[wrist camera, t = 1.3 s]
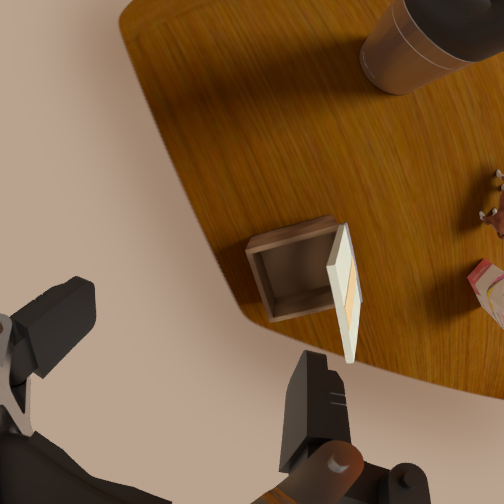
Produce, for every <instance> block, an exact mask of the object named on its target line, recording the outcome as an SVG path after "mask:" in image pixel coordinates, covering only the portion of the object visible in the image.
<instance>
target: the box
mask: <svg viewBox="0 0 504 504" xmlns="http://www.w3.org/2000/svg"><path fill="white" fill-rule="evenodd" d="M338 227H339V224H338V223H337V221H336V220H335V219H334V217H333V216H332V215H327V216H324V217H320V218H316V219H313V220H309V221H305V222H302V223H298V224H294V225H291V226H287V227H283V228H280V229H276V230H273V231H269V232H265V233H262V234H258V235H255V236H251V238H250V241H249V243H248V245H247V247H246V249H245V252H246V255H247V258H248V261H249V263H250V266H251V269H252V272H253V275H254V278H255V281H256V284H257V287H258V290H259V293H260V296H261V299H262V302H263V305H264V307H265V310H266V313H267V316H268V319H269V322H270V323H272V322H276V321H281V320H285V319H290V318H294V317H299V316H303V315H307V314H311V313H315V312H319V311H323V310H327V309H331V308H335V302H334V298H333V293H332V289H331V284H330V280H329V276H328V271H327V267H326V266H327V263H328V259H329V256H330V253H331V250H332V247H333V243H334V240H335V237H336V234H337V230H338Z"/></svg>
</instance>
